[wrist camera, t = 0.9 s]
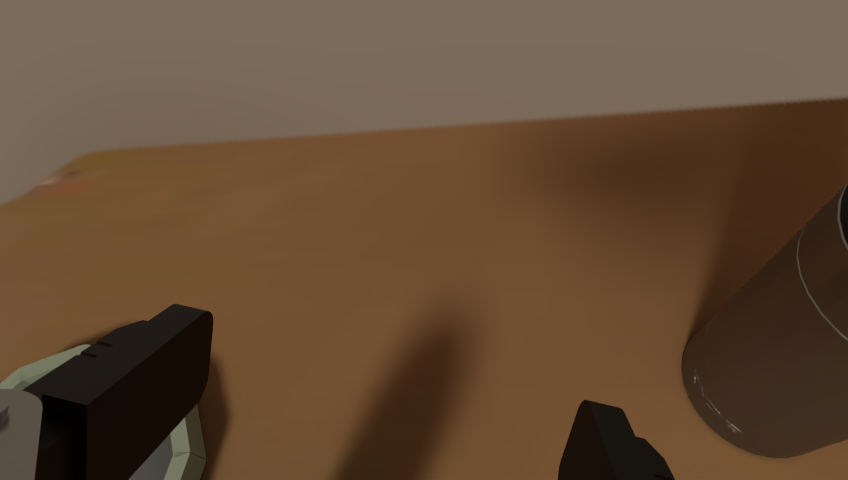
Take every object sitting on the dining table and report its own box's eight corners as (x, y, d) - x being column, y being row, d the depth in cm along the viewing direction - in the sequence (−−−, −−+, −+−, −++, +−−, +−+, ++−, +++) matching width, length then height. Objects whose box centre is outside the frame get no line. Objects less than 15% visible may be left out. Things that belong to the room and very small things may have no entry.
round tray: (184, 326, 39) (169, 312, 37) (223, 557, 30) (205, 556, 28) (-45, 412, 36) (-76, 402, 34) (-71, 691, 28) (-114, 701, 26)
